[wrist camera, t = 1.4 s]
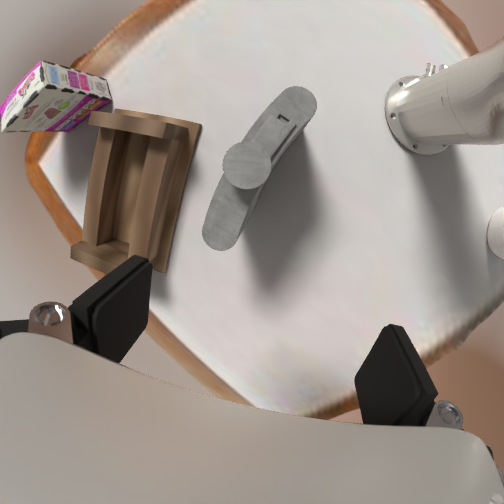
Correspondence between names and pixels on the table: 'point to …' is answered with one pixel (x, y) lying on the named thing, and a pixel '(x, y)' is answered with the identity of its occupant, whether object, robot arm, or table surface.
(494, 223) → the white tall cylinder
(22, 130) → the candy bar box
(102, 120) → the brown rectangular open tray
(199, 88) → the table surface
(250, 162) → the hip flask
